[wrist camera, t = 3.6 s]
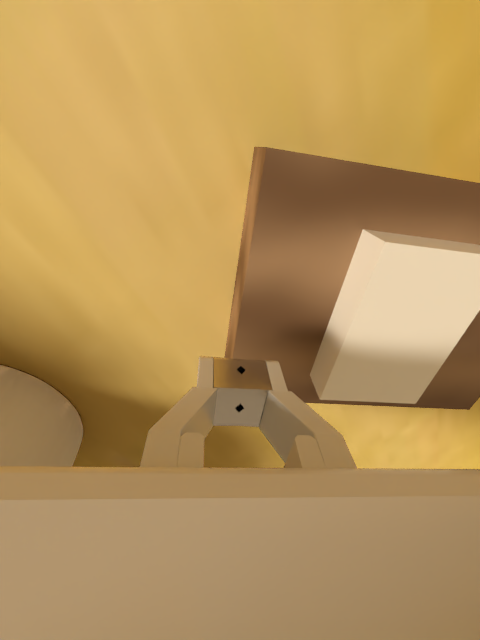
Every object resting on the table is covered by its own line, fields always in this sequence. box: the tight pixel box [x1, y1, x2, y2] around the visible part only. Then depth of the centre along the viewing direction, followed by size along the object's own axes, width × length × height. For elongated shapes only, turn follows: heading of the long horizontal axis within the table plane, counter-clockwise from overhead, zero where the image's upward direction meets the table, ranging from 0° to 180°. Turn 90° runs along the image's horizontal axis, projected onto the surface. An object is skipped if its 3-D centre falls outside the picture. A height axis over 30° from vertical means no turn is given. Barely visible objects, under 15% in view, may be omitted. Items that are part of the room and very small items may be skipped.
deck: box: [225, 147, 480, 410], centre depth 17 cm, size 14×18×4 cm
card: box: [310, 229, 480, 404], centre depth 15 cm, size 9×6×2 cm, turn 172°
